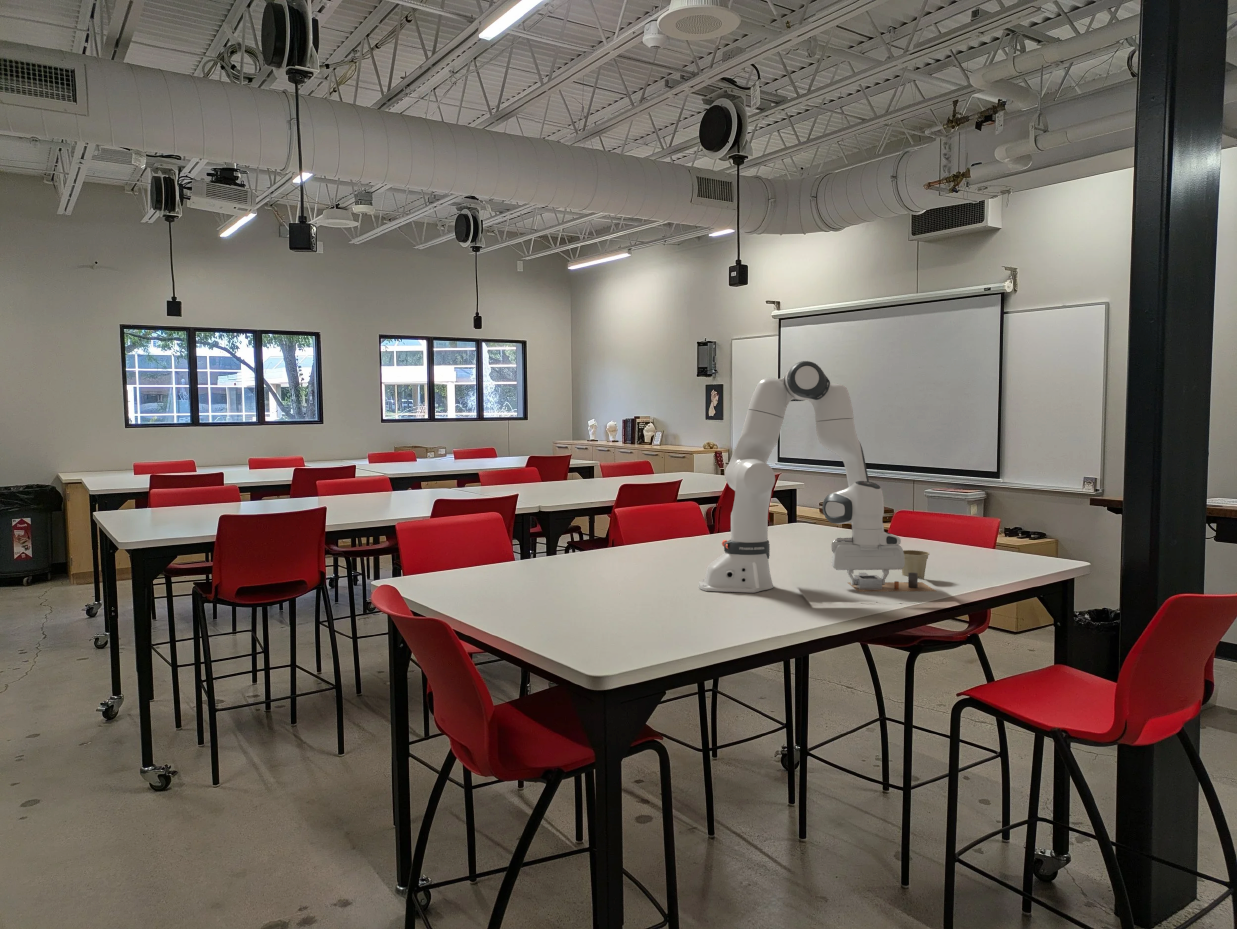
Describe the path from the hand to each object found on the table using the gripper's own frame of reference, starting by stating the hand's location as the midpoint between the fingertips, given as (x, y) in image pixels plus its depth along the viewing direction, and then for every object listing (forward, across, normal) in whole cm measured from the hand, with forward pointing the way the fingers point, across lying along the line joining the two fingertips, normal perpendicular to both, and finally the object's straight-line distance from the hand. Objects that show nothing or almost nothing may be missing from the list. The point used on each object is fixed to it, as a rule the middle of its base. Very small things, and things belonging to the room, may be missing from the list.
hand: (867, 584), depth 236 cm
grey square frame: (+1, 0, +2) cm, 2 cm away
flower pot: (+2, +19, +19) cm, 27 cm away
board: (+2, +7, +1) cm, 7 cm away
